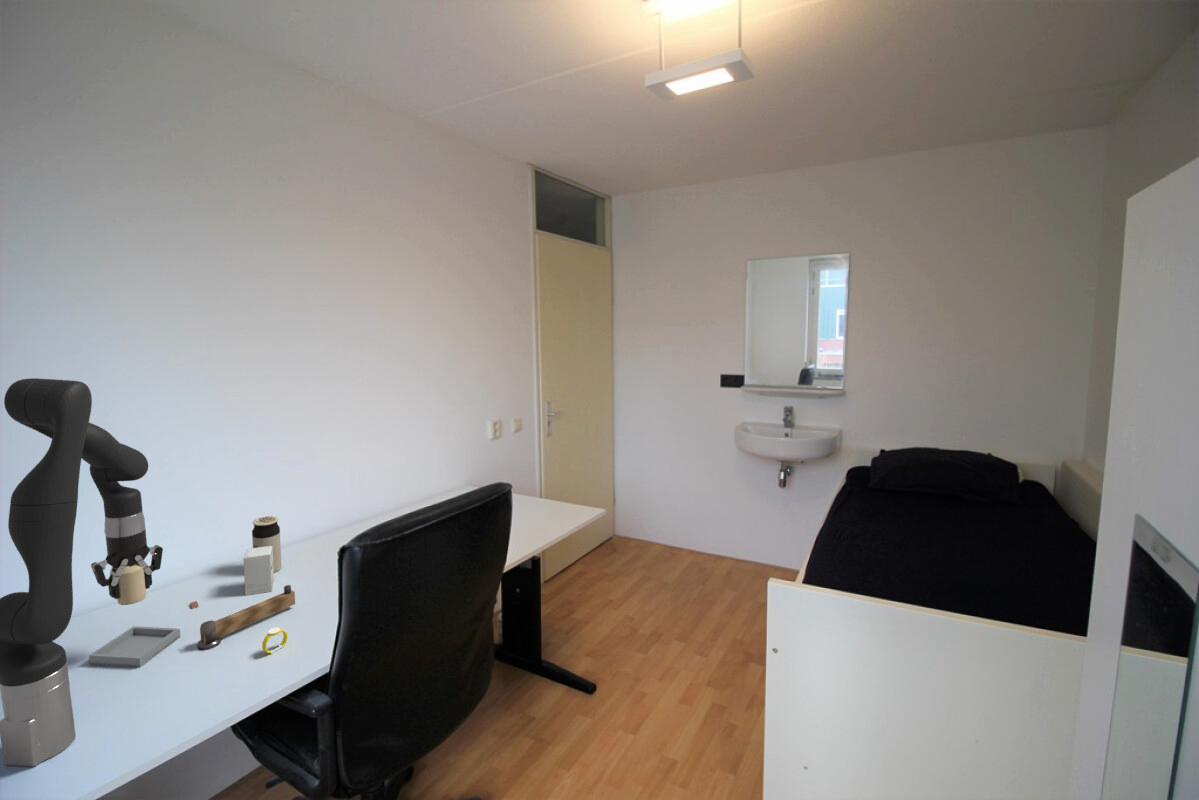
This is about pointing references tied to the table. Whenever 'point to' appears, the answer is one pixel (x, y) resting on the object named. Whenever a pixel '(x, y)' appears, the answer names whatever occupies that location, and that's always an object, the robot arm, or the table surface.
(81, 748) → the table surface
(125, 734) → the table surface
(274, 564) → the travel mug
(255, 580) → the supplement box
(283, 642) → the watch
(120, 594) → the candle
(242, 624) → the crank lever
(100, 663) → the tray
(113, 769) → the table surface
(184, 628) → the table surface
